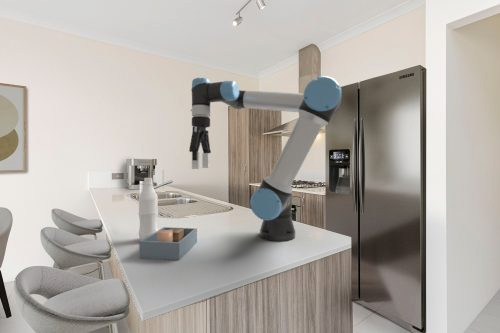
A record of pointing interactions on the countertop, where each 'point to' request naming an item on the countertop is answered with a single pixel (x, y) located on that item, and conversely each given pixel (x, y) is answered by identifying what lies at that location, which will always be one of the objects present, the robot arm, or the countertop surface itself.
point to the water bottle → (148, 209)
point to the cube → (177, 234)
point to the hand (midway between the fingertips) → (200, 168)
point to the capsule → (165, 236)
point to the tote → (167, 245)
